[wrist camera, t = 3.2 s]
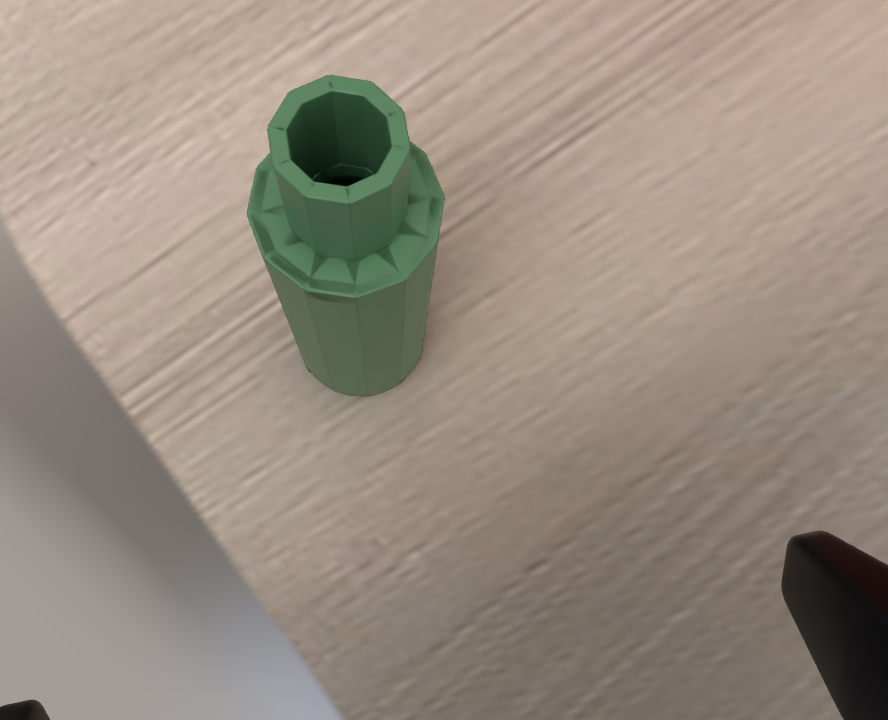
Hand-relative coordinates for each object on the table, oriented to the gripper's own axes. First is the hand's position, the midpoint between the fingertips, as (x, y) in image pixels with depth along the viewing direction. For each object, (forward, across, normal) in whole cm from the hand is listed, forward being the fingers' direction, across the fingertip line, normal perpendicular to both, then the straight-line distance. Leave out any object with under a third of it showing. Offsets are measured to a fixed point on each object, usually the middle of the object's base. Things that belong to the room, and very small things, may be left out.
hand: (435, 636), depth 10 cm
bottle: (+15, 0, +4) cm, 15 cm away
